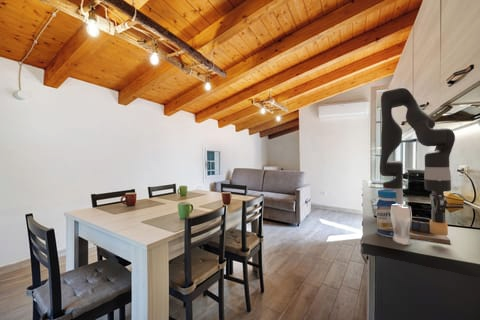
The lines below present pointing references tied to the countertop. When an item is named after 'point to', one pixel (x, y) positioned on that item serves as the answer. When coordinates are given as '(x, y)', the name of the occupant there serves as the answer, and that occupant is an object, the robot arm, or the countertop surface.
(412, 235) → the wooden cutting board
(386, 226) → the blue and white bottle
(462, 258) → the countertop surface
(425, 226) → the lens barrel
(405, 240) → the beer glass
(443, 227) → the orange rounded block
